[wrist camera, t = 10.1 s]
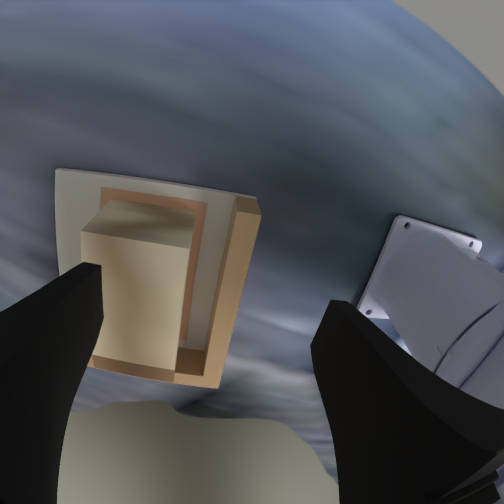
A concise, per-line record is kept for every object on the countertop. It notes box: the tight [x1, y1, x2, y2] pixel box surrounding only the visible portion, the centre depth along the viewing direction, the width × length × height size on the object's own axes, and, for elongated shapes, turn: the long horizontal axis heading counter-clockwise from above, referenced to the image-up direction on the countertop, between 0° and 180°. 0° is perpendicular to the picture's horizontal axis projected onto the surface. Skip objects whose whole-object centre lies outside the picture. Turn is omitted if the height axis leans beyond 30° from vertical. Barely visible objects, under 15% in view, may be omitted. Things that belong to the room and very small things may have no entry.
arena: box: [55, 168, 262, 388], centre depth 18 cm, size 12×13×3 cm
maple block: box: [80, 199, 197, 383], centre depth 17 cm, size 5×9×4 cm, turn 167°
